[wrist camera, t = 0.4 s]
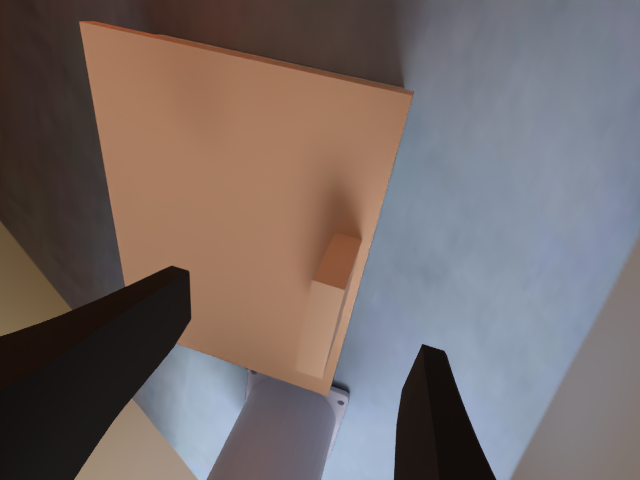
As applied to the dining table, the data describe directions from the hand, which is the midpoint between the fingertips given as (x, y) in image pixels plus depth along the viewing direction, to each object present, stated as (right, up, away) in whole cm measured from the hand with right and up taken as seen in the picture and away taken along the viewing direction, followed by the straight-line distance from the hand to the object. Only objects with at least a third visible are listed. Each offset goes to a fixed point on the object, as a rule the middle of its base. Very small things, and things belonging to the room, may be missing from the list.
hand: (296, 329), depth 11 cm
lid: (-3, +3, +8) cm, 9 cm away
